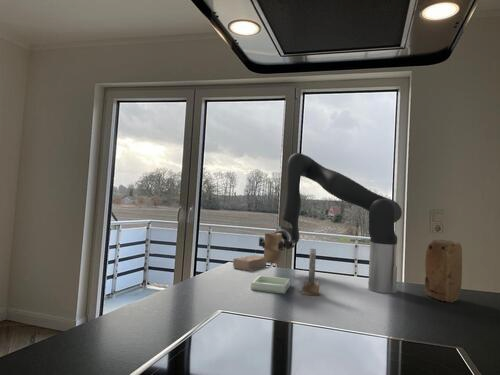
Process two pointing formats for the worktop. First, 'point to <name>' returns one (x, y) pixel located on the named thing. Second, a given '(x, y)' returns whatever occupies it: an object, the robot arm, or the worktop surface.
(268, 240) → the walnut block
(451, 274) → the block
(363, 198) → the robot arm
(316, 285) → the stand
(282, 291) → the tray
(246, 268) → the brick
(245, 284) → the worktop surface
